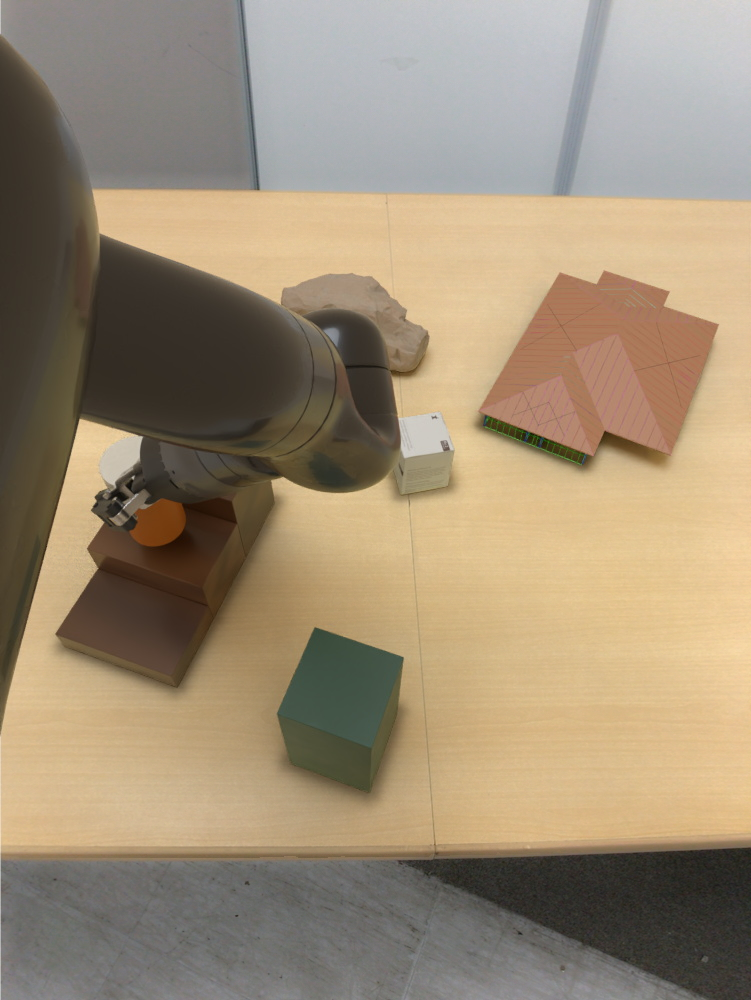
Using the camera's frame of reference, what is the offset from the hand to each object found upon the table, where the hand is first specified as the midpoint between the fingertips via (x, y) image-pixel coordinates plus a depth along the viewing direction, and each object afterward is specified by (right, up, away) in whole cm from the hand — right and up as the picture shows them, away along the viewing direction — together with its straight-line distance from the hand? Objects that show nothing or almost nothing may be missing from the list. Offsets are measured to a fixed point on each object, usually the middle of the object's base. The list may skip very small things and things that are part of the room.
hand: (127, 478), depth 69 cm
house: (+54, +14, +31) cm, 63 cm away
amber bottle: (+1, -4, +5) cm, 7 cm away
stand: (+20, -25, +2) cm, 32 cm away
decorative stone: (+20, +19, +33) cm, 43 cm away
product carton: (+28, +1, +21) cm, 35 cm away
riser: (+1, -10, +13) cm, 16 cm away
